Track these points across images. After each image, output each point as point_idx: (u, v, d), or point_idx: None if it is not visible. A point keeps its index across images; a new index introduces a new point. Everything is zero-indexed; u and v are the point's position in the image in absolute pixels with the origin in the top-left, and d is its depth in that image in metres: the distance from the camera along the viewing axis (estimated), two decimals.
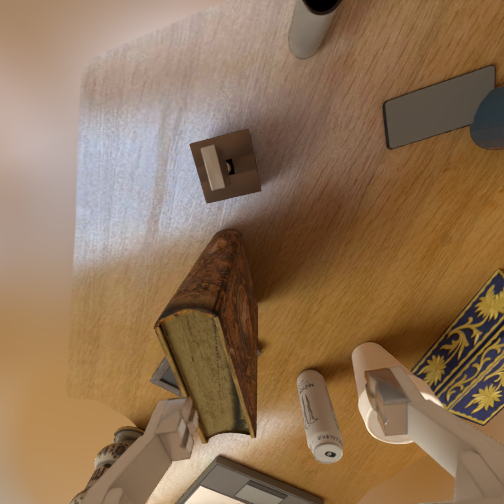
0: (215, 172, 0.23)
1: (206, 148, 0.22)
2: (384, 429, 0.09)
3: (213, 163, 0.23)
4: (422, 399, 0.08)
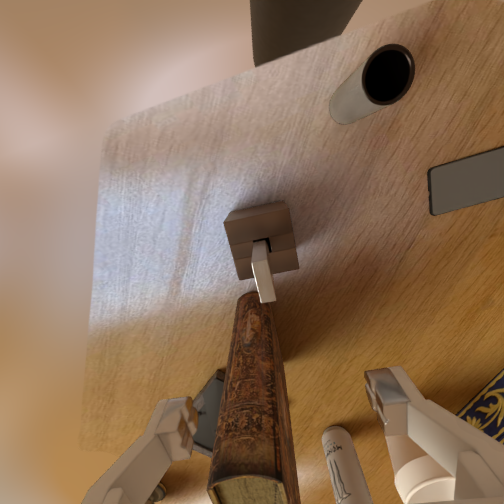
0: (266, 286, 0.20)
1: (258, 263, 0.20)
2: (384, 429, 0.09)
3: (265, 278, 0.20)
4: (422, 399, 0.08)
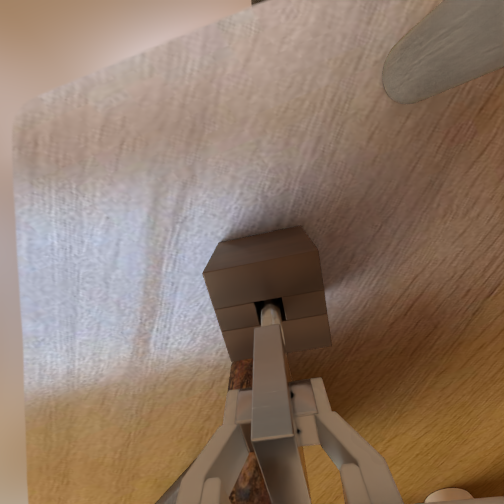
0: (289, 484, 0.08)
1: (269, 442, 0.07)
2: None
3: (286, 469, 0.08)
4: (329, 411, 0.09)
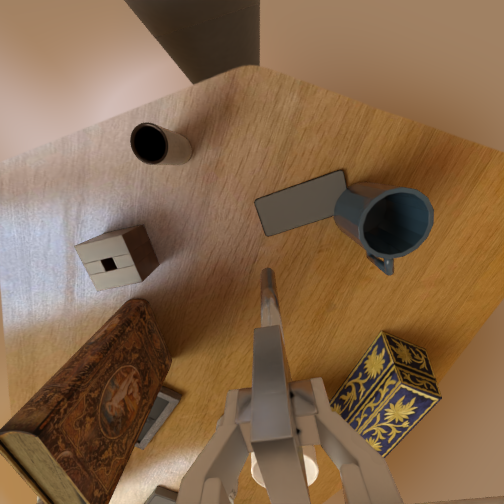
0: (288, 485, 0.08)
1: (268, 443, 0.07)
2: (299, 439, 0.09)
3: (285, 470, 0.08)
4: (329, 411, 0.09)
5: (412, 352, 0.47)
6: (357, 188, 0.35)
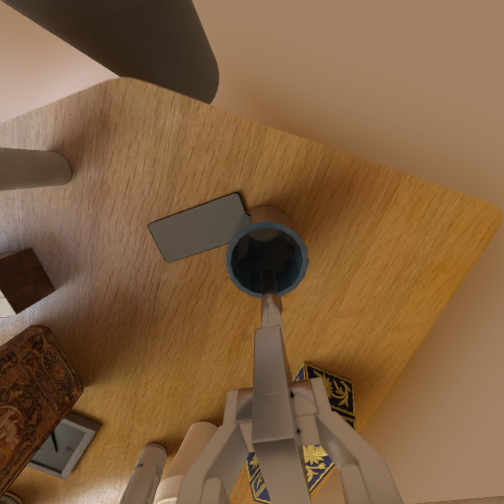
0: (289, 486, 0.08)
1: (270, 444, 0.07)
2: None
3: (286, 471, 0.08)
4: (329, 411, 0.09)
5: (334, 386, 0.43)
6: (247, 215, 0.31)
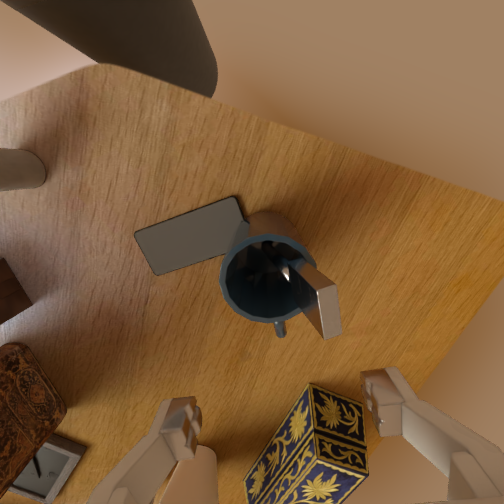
0: (332, 318, 0.16)
1: (325, 290, 0.15)
2: (379, 430, 0.09)
3: (332, 307, 0.16)
4: (416, 400, 0.08)
5: (342, 410, 0.39)
6: (245, 223, 0.27)
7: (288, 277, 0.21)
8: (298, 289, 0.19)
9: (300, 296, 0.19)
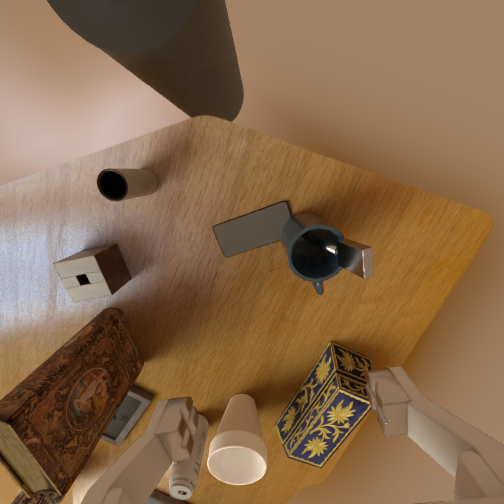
0: (369, 266, 0.30)
1: (366, 250, 0.29)
2: (384, 429, 0.09)
3: (369, 260, 0.29)
4: (422, 399, 0.08)
5: (356, 361, 0.52)
6: (296, 219, 0.41)
7: (334, 250, 0.35)
8: (344, 255, 0.33)
9: (346, 259, 0.33)
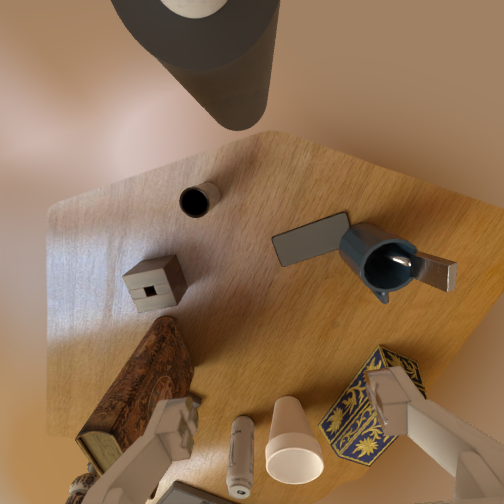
0: (453, 280, 0.31)
1: (452, 265, 0.30)
2: (384, 429, 0.09)
3: (453, 274, 0.31)
4: (422, 399, 0.08)
5: (404, 364, 0.54)
6: (359, 230, 0.42)
7: (407, 262, 0.36)
8: (421, 268, 0.34)
9: (423, 272, 0.34)
